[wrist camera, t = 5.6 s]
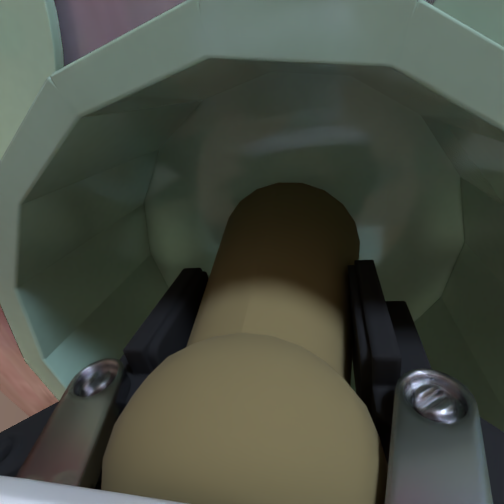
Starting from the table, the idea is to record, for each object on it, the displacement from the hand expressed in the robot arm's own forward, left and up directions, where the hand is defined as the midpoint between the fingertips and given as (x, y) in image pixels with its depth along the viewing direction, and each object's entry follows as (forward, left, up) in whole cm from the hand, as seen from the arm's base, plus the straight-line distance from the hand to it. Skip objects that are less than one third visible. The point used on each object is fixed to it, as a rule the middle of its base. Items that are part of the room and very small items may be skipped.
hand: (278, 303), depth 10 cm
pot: (0, 0, -4) cm, 4 cm away
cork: (0, 0, -4) cm, 4 cm away
